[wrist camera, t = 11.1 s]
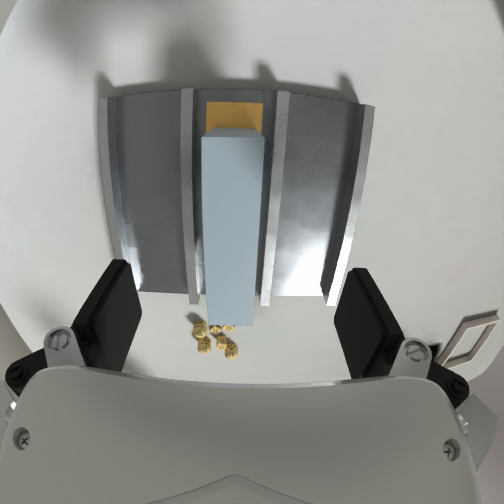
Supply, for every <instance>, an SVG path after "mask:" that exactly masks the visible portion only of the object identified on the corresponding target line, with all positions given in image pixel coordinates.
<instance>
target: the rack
mask: <svg viewBox="0 0 504 504" xmlns="http://www.w3.org/2000/svg"><path fill="white" fill-rule="evenodd" d="M374 110H375V107H374V106H370V105H366V104H354V103H350V102H345V101H340V100H334V99H329V98H323V97H316V96H309V95H302V94H294V93H290V91H281V90H277V91H275V92H274V91H261V90H242V89H195V88H182V89H181V90H173V91H161V92H150V93H141V94H133V95H126V96H120V97H105V98H100V99H98V129H99V148H100V162H101V172H102V182H103V190H104V198H105V205H106V212H107V218H108V224H109V230H110V235H111V240H112V245H113V250H114V255H115V259H125V260H127V262H128V263H130V264H131V267H132V272H133V276H134V281H135V285H136V289H137V291H144V292H161V293H182V294H189V302H190V304H199V298H200V294H206V283H205V266H204V245H203V218H202V137H203V136H204V135H205V134H207V133H208V132H209V131H210V130H212V129H213V128H256V129H257V130H258V131H259V133H260V134H261V135H262V136H263V137H264V138H265V142H264V159H263V175H262V191H261V207H260V223H259V238H258V254H257V269H256V284H255V296H259V301H260V306H269V300H270V296H314V295H323V297H324V299H325V302H326V304H327V305H335V302H336V298H337V295H338V291H339V288H340V285H341V281H342V277H343V274H344V270H345V266H346V262H347V259H348V255H349V251H350V247H351V243H352V238H353V234H354V230H355V225H356V221H357V216H358V212H359V207H360V202H361V197H362V191H363V186H364V181H365V175H366V169H367V163H368V157H369V150H370V143H371V136H372V128H373V119H374Z"/></svg>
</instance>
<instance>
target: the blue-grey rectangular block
mask: <svg viewBox="0 0 504 504" xmlns="http://www.w3.org/2000/svg"><path fill="white" fill-rule="evenodd" d="M264 142H265V138H264V137H263V136H262V135H261V134H260V133H259V131H258V130H257V129H256V128H213V129H212V130H210V131H209V132H208V133H207V134H205V135H204V136H203V137H202V218H203V245H204V266H205V283H206V299H207V313H208V325H229V326H253V313H254V298H255V284H256V269H257V254H258V238H259V223H260V207H261V191H262V175H263V159H264Z"/></svg>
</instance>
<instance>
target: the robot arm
mask: <svg viewBox="0 0 504 504" xmlns="http://www.w3.org/2000/svg"><path fill="white" fill-rule="evenodd" d="M141 316H142V309H141V305H140V301H139V297H138V293H137V289H136V285H135V281H134V276H133V272H132V267H131V264H130V263H128V262H127V260H125V259H113V260H112V261H111V263H110V264H109V266H108V267H107V269H106V270H105V272H104V273H103V275H102V276H101V278H100V279H99V281H98V282H97V284H96V285H95V287H94V288H93V290H92V292H91V293H90V295H89V296H88V298H87V300H86V301H85V303H84V304H83V306H82V308H81V309H80V311H79V313H78V314H77V316H76V318H75V320H74V321H73V324H72V326H71V327H70V328H69V327H66V326H60V327H56V328H54V329H52V330H51V331H50V332H49V333H48V334H47V335H46V337H45V339H44V348H42V349H40V350H38V351H36V352H34V353H32V354H30V355H28V356H26V357H24V358H22V359H20V360H17V361H15V362H14V363H12V364H11V365H10V366H9V367H8V369H7V371H6V374H5V381H4V382H3V380H0V504H482V501H481V495H480V489H479V484H478V479H477V475H476V471H477V470H478V468H479V466H480V465H481V463H482V462H483V460H484V458H485V456H486V454H487V453H488V451H489V449H490V447H491V446H492V444H493V442H494V440H495V438H496V436H497V434H498V432H499V429H500V422H499V419H498V417H497V416H496V415H495V414H494V413H493V412H492V411H491V410H490V409H489V408H488V407H487V406H486V405H485V404H484V403H483V402H482V401H481V400H480V399H478V397H476V396H475V395H474V394H472V395H470V394H469V385H468V383H467V381H466V380H465V379H464V378H463V377H461V376H460V375H458V374H456V373H454V372H453V371H451V370H449V369H447V368H445V367H443V366H441V365H440V364H438V363H436V362H434V361H432V360H431V358H432V353H431V350H430V348H429V346H428V345H427V344H426V343H425V342H423V341H422V340H420V339H417V338H407V339H405V337H404V335H403V332H402V330H401V328H400V326H399V324H398V322H397V321H396V319H395V317H394V315H393V313H392V311H391V310H390V308H389V306H388V304H387V302H386V301H385V299H384V297H383V295H382V294H381V292H380V290H379V289H378V287H377V285H376V283H375V282H374V280H373V278H372V277H371V275H370V273H369V272H368V270H367V269H366V268H353V269H352V271H349V272H348V274H347V278H346V281H345V284H344V288H343V291H342V294H341V297H340V301H339V304H338V307H337V310H336V313H335V316H334V324H335V327H336V330H337V333H338V337H339V340H340V343H341V346H342V349H343V352H344V355H345V359H346V362H347V365H348V368H349V372H350V375H351V378H352V379H350V380H339V381H327V382H313V383H293V384H231V383H211V382H197V381H185V380H175V379H166V378H158V377H150V376H143V375H136V374H130V373H123V372H122V369H123V366H124V363H125V360H126V357H127V354H128V352H129V349H130V346H131V343H132V340H133V338H134V335H135V332H136V330H137V327H138V324H139V322H140V319H141Z"/></svg>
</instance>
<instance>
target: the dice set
mask: <svg viewBox="0 0 504 504" xmlns="http://www.w3.org/2000/svg"><path fill="white" fill-rule="evenodd" d="M222 328H223V329H225V330H226V331H228V332H230V331H231V330H233V329H234V328H235V326H229V325H223V326H222ZM222 328H221V327H219V326H217V325H213V326H212V327H211V328H210V332H212V333H214V334H216V335H217V334H218V333H219V332H220V331H222ZM193 334H194V336H196V337H198V338H200V339H199V341H198V351H199V352H201V353H204V354H205V353H209V352H210V350H211V340H210V339H209V338H207V337H205V336H206V334H207V324H206V322H204V321H202V320H199V321H196V322H195V323H194V327H193ZM216 349H221V350H225V356H226V358H229V359H234V358H236V357H237V356H238V347H237V345H236V344H234V343H228V344H227V339H226V336H225V335H221V336H217V346H216Z"/></svg>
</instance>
